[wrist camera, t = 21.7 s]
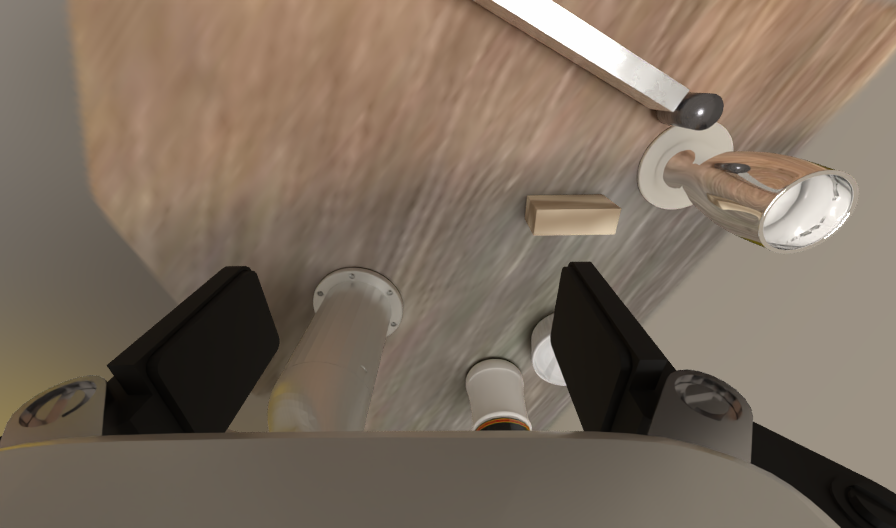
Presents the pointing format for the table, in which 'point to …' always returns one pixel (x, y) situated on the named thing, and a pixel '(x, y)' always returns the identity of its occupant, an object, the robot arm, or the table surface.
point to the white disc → (665, 141)
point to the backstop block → (571, 214)
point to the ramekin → (545, 353)
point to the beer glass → (760, 194)
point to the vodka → (497, 397)
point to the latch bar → (610, 62)
